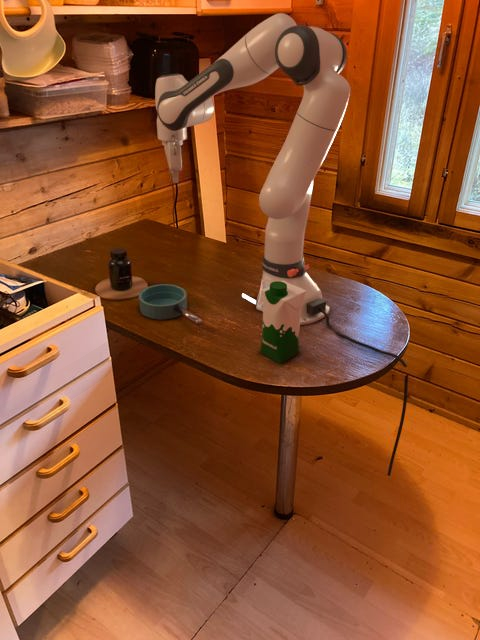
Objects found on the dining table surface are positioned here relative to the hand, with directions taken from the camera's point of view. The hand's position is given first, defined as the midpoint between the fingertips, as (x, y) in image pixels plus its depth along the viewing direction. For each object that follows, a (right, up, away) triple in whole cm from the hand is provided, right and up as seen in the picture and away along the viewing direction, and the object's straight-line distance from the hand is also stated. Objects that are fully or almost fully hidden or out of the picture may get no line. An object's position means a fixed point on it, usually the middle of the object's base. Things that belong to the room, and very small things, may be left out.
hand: (174, 178), depth 162 cm
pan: (-1, -42, -13) cm, 44 cm away
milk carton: (+31, -53, -32) cm, 70 cm away
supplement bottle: (-16, -35, -3) cm, 38 cm away
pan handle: (+6, -44, -22) cm, 50 cm away
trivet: (-16, -35, -3) cm, 39 cm away
